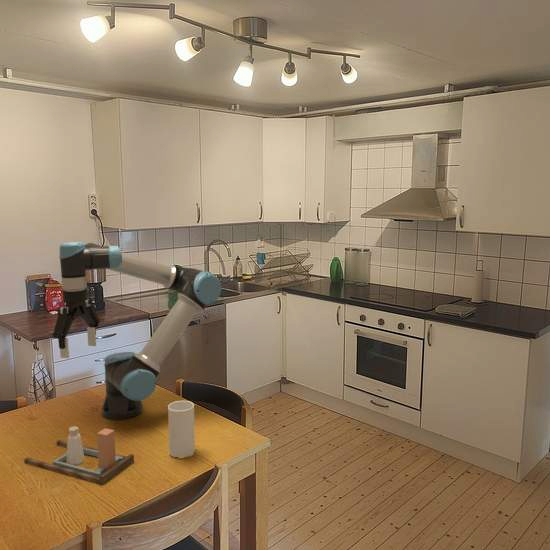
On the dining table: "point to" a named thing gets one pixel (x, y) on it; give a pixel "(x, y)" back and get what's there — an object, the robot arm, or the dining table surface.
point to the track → (100, 480)
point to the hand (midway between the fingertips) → (79, 351)
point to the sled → (97, 454)
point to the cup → (181, 428)
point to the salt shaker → (74, 447)
